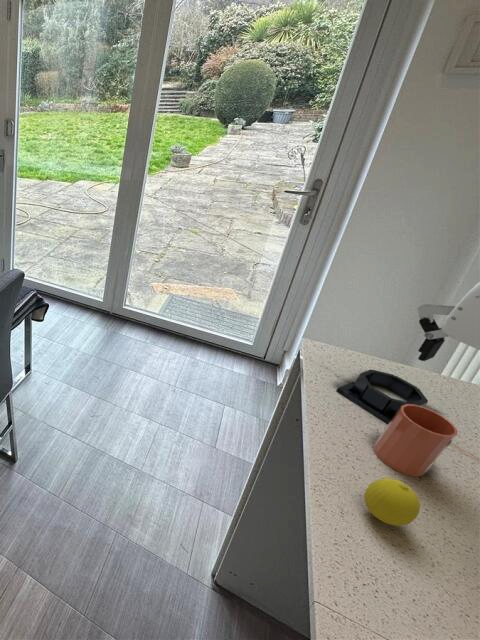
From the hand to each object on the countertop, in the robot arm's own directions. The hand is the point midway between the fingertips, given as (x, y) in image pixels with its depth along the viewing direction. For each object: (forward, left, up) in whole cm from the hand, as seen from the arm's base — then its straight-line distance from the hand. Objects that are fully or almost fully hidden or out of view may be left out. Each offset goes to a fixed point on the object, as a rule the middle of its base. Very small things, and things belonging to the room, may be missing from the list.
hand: (464, 378), depth 64 cm
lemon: (+17, +5, -20) cm, 26 cm away
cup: (+1, 0, -19) cm, 19 cm away
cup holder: (-12, -9, -19) cm, 25 cm away
